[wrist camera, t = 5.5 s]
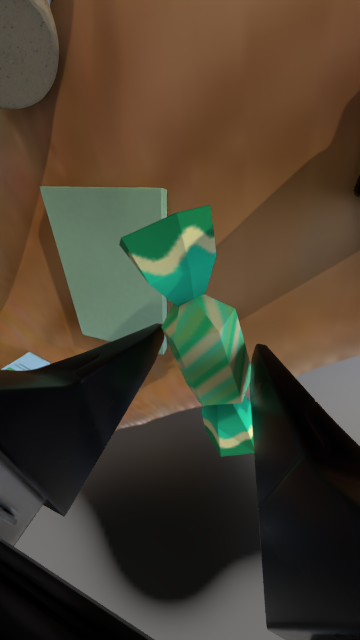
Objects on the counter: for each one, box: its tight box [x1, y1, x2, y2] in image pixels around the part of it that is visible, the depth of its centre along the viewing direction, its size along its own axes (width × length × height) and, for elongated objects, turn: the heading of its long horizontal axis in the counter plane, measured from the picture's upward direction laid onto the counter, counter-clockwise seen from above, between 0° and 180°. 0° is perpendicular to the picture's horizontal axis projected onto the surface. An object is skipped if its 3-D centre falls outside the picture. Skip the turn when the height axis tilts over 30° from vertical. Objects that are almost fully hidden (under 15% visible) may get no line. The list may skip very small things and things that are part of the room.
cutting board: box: [40, 186, 167, 355], centre depth 19 cm, size 12×16×1 cm
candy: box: [119, 205, 254, 456], centre depth 9 cm, size 12×3×4 cm
